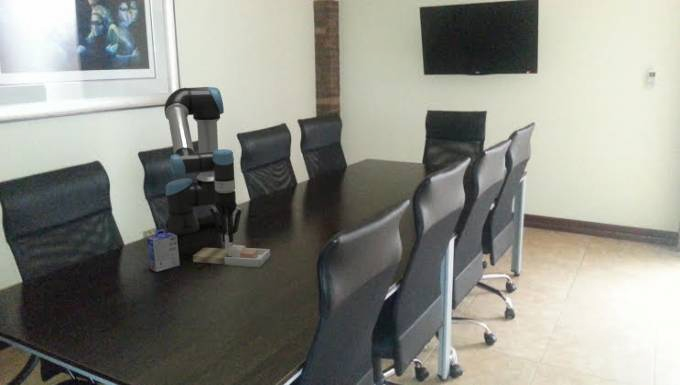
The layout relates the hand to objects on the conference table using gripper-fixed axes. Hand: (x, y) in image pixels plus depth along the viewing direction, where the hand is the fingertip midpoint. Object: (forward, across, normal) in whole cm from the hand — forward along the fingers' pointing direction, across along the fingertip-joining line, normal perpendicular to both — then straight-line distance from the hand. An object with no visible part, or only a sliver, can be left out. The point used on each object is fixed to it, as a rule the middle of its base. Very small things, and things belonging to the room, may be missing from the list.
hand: (228, 249), depth 216 cm
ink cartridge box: (+4, -21, -12) cm, 24 cm away
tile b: (+3, +8, 0) cm, 9 cm away
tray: (+4, +8, 0) cm, 9 cm away
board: (+4, -6, 0) cm, 7 cm away
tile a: (+2, +3, 0) cm, 4 cm away
